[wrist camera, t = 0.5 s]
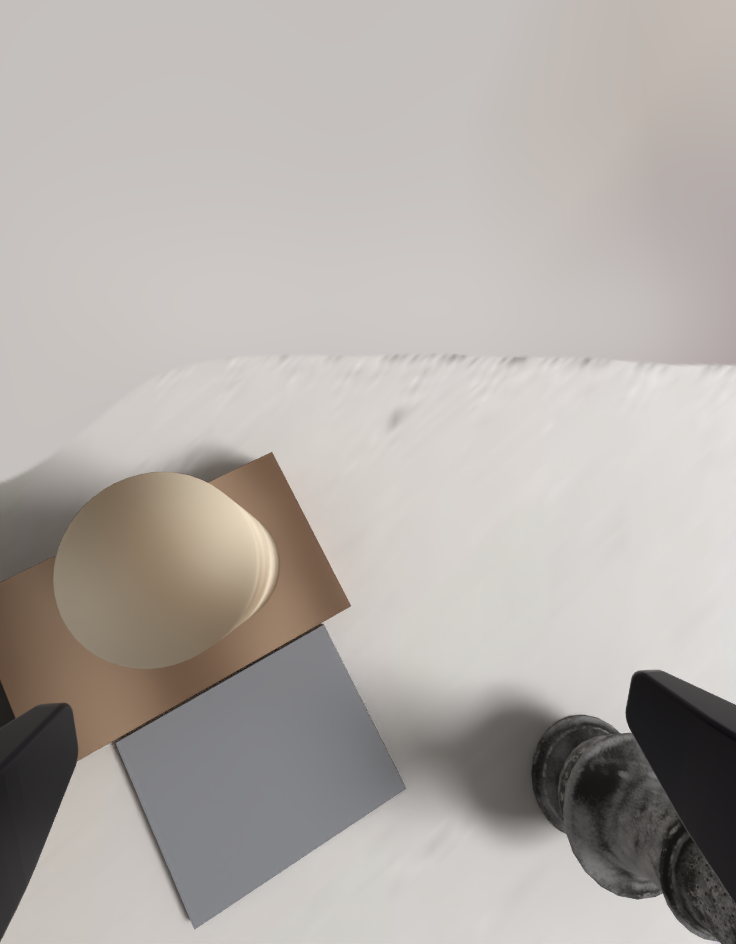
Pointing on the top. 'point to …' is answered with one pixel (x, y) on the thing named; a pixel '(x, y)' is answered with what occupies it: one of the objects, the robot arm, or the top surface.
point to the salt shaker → (626, 824)
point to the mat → (258, 772)
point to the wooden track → (157, 690)
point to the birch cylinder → (161, 570)
